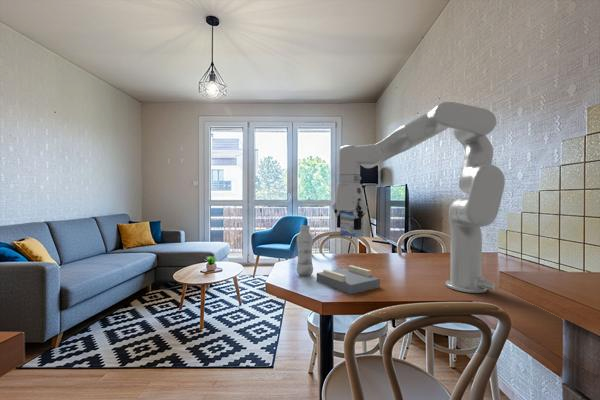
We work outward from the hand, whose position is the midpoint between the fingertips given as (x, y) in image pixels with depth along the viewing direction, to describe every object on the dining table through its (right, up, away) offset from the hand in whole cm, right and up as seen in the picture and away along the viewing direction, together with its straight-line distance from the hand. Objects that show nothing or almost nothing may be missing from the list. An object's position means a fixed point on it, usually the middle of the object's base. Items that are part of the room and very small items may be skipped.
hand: (348, 228), depth 103 cm
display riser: (-1, -20, 0) cm, 20 cm away
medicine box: (+1, -3, +1) cm, 3 cm away
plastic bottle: (-16, -20, +11) cm, 28 cm away
